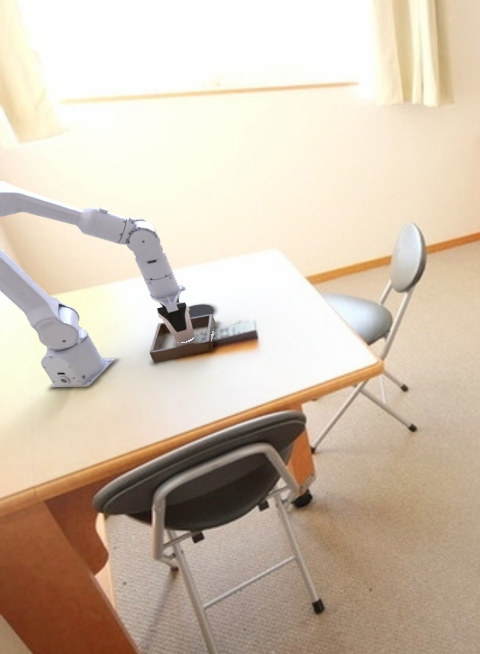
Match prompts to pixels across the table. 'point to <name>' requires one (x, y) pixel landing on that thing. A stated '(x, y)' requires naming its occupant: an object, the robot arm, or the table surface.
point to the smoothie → (181, 335)
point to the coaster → (200, 310)
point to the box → (183, 350)
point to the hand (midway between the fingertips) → (179, 324)
